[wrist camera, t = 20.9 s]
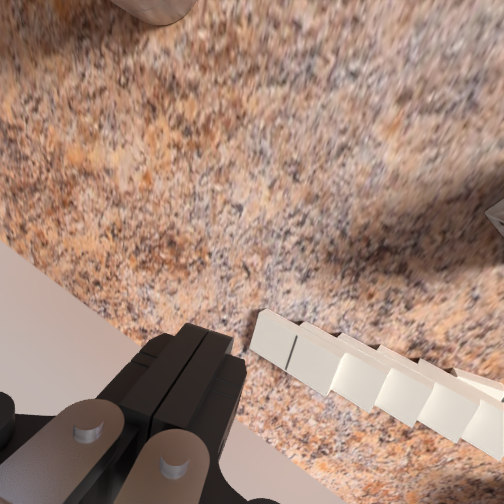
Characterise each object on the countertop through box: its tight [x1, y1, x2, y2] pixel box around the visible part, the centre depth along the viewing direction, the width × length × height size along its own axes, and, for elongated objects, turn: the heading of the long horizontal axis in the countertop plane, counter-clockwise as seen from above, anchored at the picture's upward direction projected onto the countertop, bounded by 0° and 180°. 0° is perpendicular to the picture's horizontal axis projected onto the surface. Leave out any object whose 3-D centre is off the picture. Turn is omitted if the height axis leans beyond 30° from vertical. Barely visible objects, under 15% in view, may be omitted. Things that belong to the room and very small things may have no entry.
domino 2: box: [299, 321, 391, 414], centre depth 37 cm, size 2×5×10 cm
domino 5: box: [450, 367, 504, 403], centre depth 37 cm, size 2×5×10 cm
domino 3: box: [337, 332, 435, 428], centre depth 37 cm, size 2×5×10 cm
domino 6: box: [417, 358, 504, 461], centre depth 35 cm, size 2×5×10 cm
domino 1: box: [249, 308, 346, 397], centre depth 38 cm, size 2×5×10 cm
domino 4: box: [377, 345, 480, 444], centre depth 36 cm, size 2×5×10 cm
